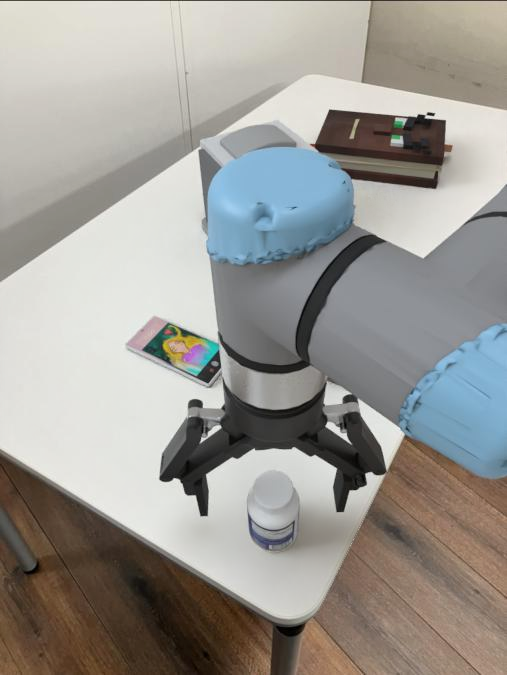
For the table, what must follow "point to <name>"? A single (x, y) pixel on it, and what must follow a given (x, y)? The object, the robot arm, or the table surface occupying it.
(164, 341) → the smartphone
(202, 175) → the alarm clock
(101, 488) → the table surface
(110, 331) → the table surface
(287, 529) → the pill bottle
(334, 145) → the decorative book
